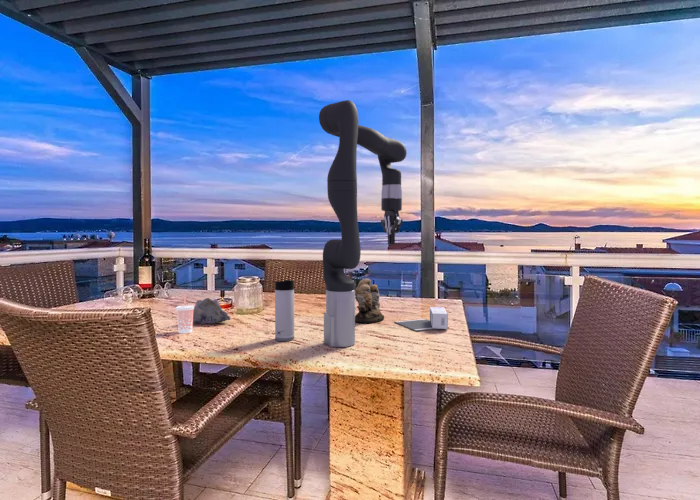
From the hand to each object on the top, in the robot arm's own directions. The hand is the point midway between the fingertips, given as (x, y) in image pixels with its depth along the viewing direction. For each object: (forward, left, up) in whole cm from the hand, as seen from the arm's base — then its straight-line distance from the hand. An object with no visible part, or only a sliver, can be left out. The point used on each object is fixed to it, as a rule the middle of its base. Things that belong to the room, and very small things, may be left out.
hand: (391, 244), depth 153 cm
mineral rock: (-62, +32, -31) cm, 76 cm away
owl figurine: (-2, +15, -31) cm, 35 cm away
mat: (+12, -2, -31) cm, 33 cm away
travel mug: (-41, -2, -31) cm, 52 cm away
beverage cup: (-71, +22, -31) cm, 81 cm away
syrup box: (+14, -12, -28) cm, 33 cm away
